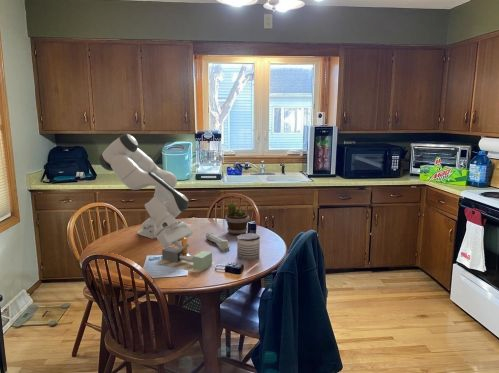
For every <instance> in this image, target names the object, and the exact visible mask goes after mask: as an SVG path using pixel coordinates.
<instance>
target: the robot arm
mask: <svg viewBox="0 0 499 373" xmlns="http://www.w3.org/2000/svg"><path fill="white" fill-rule="evenodd" d="M98 162H99V165H100V166H101V167H102V168H103V169H104V170H106V171H109V172H113V173H114V174H115V175H116V177H117V178H118V180H120V181H121V182H122V183H123V184H124V185H125V186H126V188H128V189H130V190H141V189H145V188H147V187H153V188H154V194H153V196H151V197H150V198H149V199H147V201H146V202H145V203H144V208H145V209H146V212H147V213H148V215H149V217H148V218H147V219H146V220H145V221H143V222H142V224H141V229H140V230H138V231H137V232H136V233H137V235H140V236H143V237H145V238H149V239H152V240H154V239H157V241H158V242H159V243H160V245H161V246H162V248H164V249H165V248H167V247H171V246H172V245H174V246H175V247H177V249H180V250H183V249H184V248H185V247H184V246H183V245H182V243H180V241H181V242H182V238H187V239H188V238H190V236H192V234H194V231H193V229H192V228H191V227H190V226H189V224H187V223H186V222H184V221H182V220H178V219H177V218H176V217H178V216H179V215H180V214H181V213H183V212H184V211H186V210H187V209H188V207H189V203H190V202H189V199H188V197H186V195H185V194H183V193H181V192H180V191H178V189H176V186H177V183H178V178H177V176H176V175H175V174H174V173H173V172H171V171H169V170H165V169H162V168H160V167H159V166H158V165H157V164H156V163H155V162H154V160H153V158H151V157H150V156H148V155H147V154H146V152H144V151H143V150H142V149H140V148H139V143H138V141H137V139H136V138H135V137H134V136H133V135H131V134H129V133H123V134H121V135H119V137H117V139H115V140H113V141H112V142H111V143H110V144H109V145H108V146H107V147H106V148H105V149H104V151H103V152H101V153H100V154H99V155H98ZM189 246H190V243H189V242H188V240H187V248H189Z"/></svg>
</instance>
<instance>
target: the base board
mask: <svg viewBox="0 0 499 373" xmlns="http://www.w3.org/2000/svg"><path fill="white" fill-rule="evenodd" d="M155 263H156V264H160V265H164V266H168V267H172V268H177V269H181V270H184V271H188V272H193V273H197V274H199V273H201V272H202V270H198V269H194V268H193V262H189V261H184V260H182V261H180V262H178V263H175V262H171V261H167V260H163V259H159V260H158V261H156V262H155ZM214 264H216V261H212V265H214ZM207 268H209V267H207ZM207 268H206V269H207Z"/></svg>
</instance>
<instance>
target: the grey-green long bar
mask: <svg viewBox="0 0 499 373" xmlns="http://www.w3.org/2000/svg"><path fill="white" fill-rule="evenodd" d="M205 239H207V240H208V241H209V242H213V243H215V244H217V245H219V249H220V250H221V251H222V252H228V251H230V247H231V246H230V244H229V240H227V239H222V238H221V237H219V236H217V235H216V234H214V233H213V232H207V233H206V235H205Z"/></svg>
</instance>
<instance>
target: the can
mask: <svg viewBox="0 0 499 373" xmlns="http://www.w3.org/2000/svg"><path fill="white" fill-rule="evenodd" d="M236 239H237V242H236V244H237V246H236V247H237V249H236V256H237V258H238V259H240V260H244V261H255V260H256V261H258V260H259V259H260V248H261V247H260V245H261V243H260V242H261V235H260V234H258V233H250V232H249V233H245V234H241V235H236Z"/></svg>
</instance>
